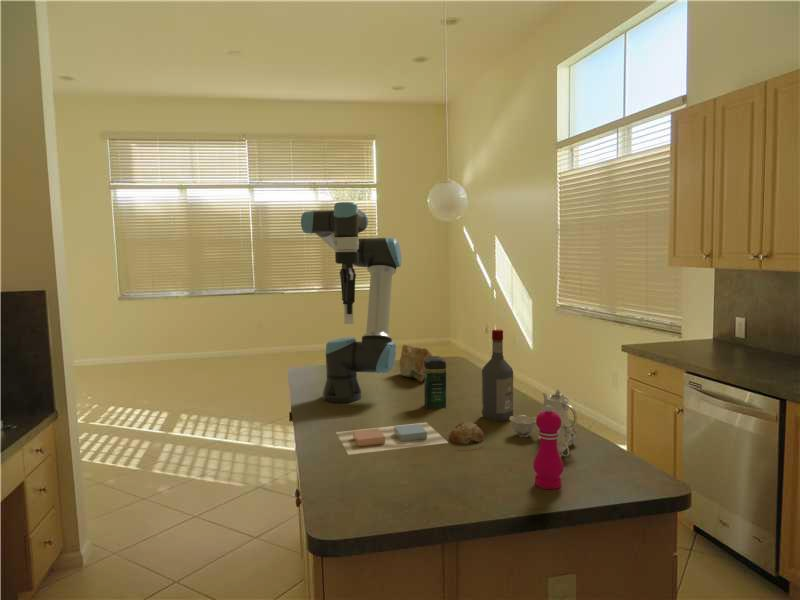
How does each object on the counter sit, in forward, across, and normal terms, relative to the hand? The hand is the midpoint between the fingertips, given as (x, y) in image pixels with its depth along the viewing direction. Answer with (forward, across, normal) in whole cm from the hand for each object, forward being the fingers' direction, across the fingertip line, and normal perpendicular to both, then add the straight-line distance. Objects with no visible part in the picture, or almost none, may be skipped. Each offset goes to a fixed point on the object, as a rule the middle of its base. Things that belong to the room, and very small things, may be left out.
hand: (348, 323), depth 186 cm
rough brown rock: (+35, -53, +44) cm, 77 cm away
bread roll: (+34, +28, +29) cm, 53 cm away
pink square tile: (+32, +16, +1) cm, 35 cm away
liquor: (+34, +9, +49) cm, 60 cm away
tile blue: (+32, +16, +14) cm, 38 cm away
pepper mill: (+34, +62, +36) cm, 79 cm away
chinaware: (+34, +37, +51) cm, 72 cm away
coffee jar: (+35, -9, +33) cm, 49 cm away
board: (+34, +19, +8) cm, 40 cm away
